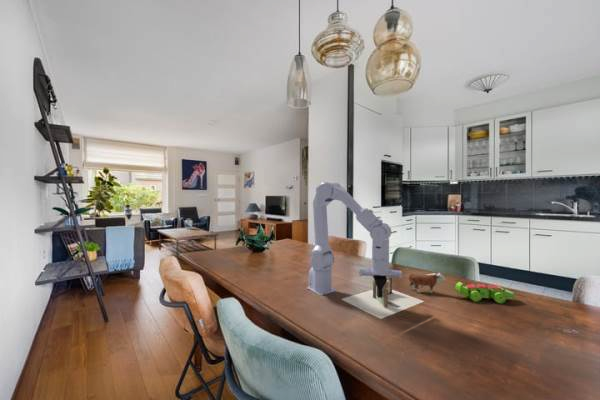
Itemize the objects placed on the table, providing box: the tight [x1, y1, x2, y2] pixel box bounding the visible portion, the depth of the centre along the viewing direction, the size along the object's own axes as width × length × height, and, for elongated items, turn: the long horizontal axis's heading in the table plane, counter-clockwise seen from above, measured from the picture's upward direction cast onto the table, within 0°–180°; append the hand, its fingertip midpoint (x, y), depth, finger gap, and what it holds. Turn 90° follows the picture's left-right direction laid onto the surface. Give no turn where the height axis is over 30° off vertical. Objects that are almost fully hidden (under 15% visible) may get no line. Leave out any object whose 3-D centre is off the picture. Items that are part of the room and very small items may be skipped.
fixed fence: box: [372, 277, 393, 298], centre depth 97 cm, size 10×2×6 cm, turn 123°
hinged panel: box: [376, 286, 388, 307], centre depth 90 cm, size 8×1×6 cm, turn 6°
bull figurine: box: [408, 272, 447, 294], centre depth 101 cm, size 4×13×8 cm, turn 78°
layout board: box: [341, 289, 425, 320], centre depth 92 cm, size 18×24×1 cm
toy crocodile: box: [454, 281, 516, 304], centre depth 95 cm, size 20×7×6 cm, turn 80°
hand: (379, 296), depth 89 cm, fingers closed, pressing on hinged panel
